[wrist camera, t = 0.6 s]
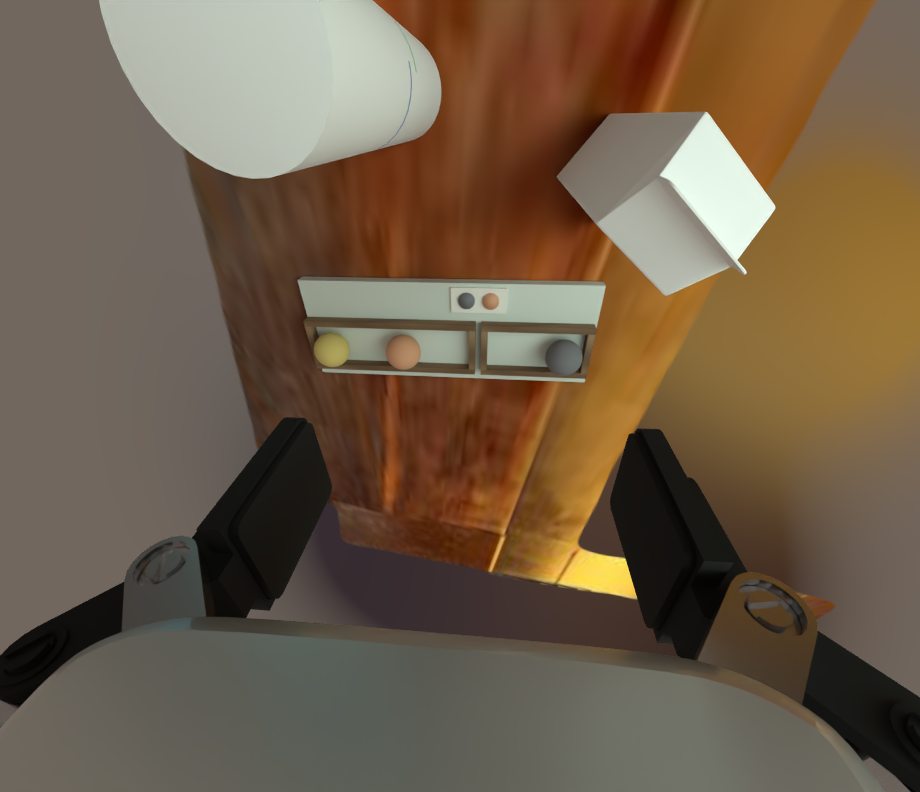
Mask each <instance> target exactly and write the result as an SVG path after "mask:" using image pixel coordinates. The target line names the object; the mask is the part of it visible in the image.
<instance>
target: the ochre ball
mask: <svg viewBox="0 0 920 792" xmlns="http://www.w3.org/2000/svg"><path fill="white" fill-rule="evenodd" d="M314 354H315V357H316V358H317V360H318V361H319V362H320V363H321V364H323V365H325V366H328V367H337V366H340V365H342V364H343V363H344V362H345V361H346V360H347V359H348V357H349V354H350V347H349V344H348V342H347V340H346V339H345V338H344V337H343V336H341V335H339V334H337V333H325V334H323V335H321V336H320V337H319V338H318V339H317V340H316V342H315V344H314Z"/></svg>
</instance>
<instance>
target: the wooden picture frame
mask: <svg viewBox="0 0 920 792" xmlns="http://www.w3.org/2000/svg"><path fill="white" fill-rule="evenodd" d="M303 322H304V326H305V329H306V333H307V336H308V340H309V343H310V347H311V350H312V354H313V357H314V360H315V364H316V367H317V368H319V369H345V370H371V371H397V372H423V373H449V374H475V356H476V321H457V320H419V319H381V318H343V317H307V318H306V319H305V320H304V321H303ZM316 327H335V328H370V329H405V330H439V331H469V364H454V363H427V362H418V363H417V364H416V365H415V366H414V367H412V368H410V369H406V370H401V369H397V368H395V367H393V366H392V365H391V364H390V363H389V361H372V360H346V361H345V362H344V363H343V364H342V365H340V366H337V367H328V366H325V365H323V364H321V363H320V362H319V361H318V360H317V358H316V357H315V354H314V344H315V342H316V340H317V339H318V338H319V336H318V332H317V329H316Z"/></svg>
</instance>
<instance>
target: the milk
mask: <svg viewBox="0 0 920 792" xmlns="http://www.w3.org/2000/svg"><path fill="white" fill-rule="evenodd" d="M557 178H558V180H559V181H560V182H561V183H562V184H563V186H564V187H565V188H566V189H567V190H568V191H569V193H570V194H571V195H572V196H573V197H574V199H575V200H576V201H577V202H578V203H579V204H580V206H581V207H582V208H583V209H584V210H585V212H586V213H587V214H588V215H589V216H590V218H591V219H592V220H593V221H594V222H595V223H596V225H597V226H598V227H599V228H600V229H601V230H602V231H603V232H604V233H605V234H606V235H607V236H608V237H609V238H610V239H611V240H612V241H613V242H614V244H615V245H616V246H617V247H618V248H619V249H620V250H621V251H622V252H623V253H624V254H625V255H626V256H627V257H628V258H629V259H630V260H631V261H632V262H633V263H634V264H635V265H636V267H637V268H638V269H639V270H640V271H641V272H642V273H643V274H644V275H645V276H646V277H647V278H648V279H649V280H650V281H651V282H652V283H653V284H654V285H655V286H656V287H657V288H658V290H659V291H660V292H661V293H662V294H663V295H665V296H667V295H669V294H672V293H674V292H676V291H678V290H681V289H683V288H685V287H687V286H689V285H692V284H694V283H696V282H698V281H701V280H703V279H705V278H707V277H709V276H712V275H714V274H716V273H718V272H720V271H723V270H725V269H727V268H729V267H733V268H734V269H736V270H737V271H739V272H741V273H742V274H744V275H745V274H746V273H747V272H746V270H745V269H744V268H743V267H742V266H741V264H740V263H739V262H738V261H737V260H738V258H739V257H740V256H741V254H742V253H743V251H744V250H745V249H746V247H747V246H748V245H749V243H750V242H751V241H752V239H753V238H754V237H755V235H756V234H757V233H758V231H759V230H760V229H761V227H762V226H763V225H764V223H765V222H766V221H767V219H768V218H769V217H770V215H771V214H772V212H773V211H774V209H775V205H774V204H773V202H772V201H771V200H770V198H769V197H768V195H767V194H766V193H765V191H764V190H763V188H762V187H761V186H760V184H759V183H758V182H757V180H756V179H755V177H754V176H753V175H752V173H751V172H750V170H749V169H748V168H747V166H746V165H745V164H744V162H743V161H742V159H741V158H740V157H739V155H738V154H737V153H736V151H735V150H734V148H733V147H732V146H731V144H730V143H729V141H728V140H727V139H726V137H725V136H724V135H723V133H722V132H721V130H720V129H719V128H718V126H717V125H716V123H715V122H714V121H713V119H712V118H711V117H710V115H709V114H708V113H707V112H671V113H625V114H609V115H608V116H607V118H606V119H605V120H604V121H603V122H602V123H601V125H600V126H599V127H598V128H597V129H596V131H595V132H594V133H593V134H592V135H591V136H590V138H589V139H588V140H587V141H586V142H585V143H584V145H583V146H582V147H581V148H580V149H579V151H578V152H577V153H576V154H575V155H574V156H573V158H572V159H571V160H570V161H569V162H568V163H567V165H566V166H565V167H564V168H563V169H562V171H561V172H560V173H559V174H558V175H557Z"/></svg>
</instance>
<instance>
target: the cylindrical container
mask: <svg viewBox="0 0 920 792" xmlns="http://www.w3.org/2000/svg"><path fill="white" fill-rule="evenodd" d="M99 1H100V7H101V13H102V16H103V19H104V23H105V26H106V29H107V32H108V35H109V38H110V42H111V44H112V46H113V48H114V51H115V53H116V55H117V58H118V60H119V62H120V65H121V67H122V69H123V71H124V72H125V74H126V76H127V78H128V79H129V81H130V83H131V85H132V86H133V88H134V90H135V92H136V93H137V95H138V97H139V98H140V99H141V101H142V102H143V103H144V105H145V106H146V107H147V109H148V110H149V112H150V113H151V114H152V116H153V117H154V118H155V119H156V121H157V122H158V123H159V124H160V125H161V126H162V127H163V128H164V129H165V130H166V131H167V132H168V133H169V134H170V136H171V137H172V138H173V139H174V140H175V141H177V142H178V143H179V144H180V145H181V146H183V147H184V148H185V149H186V150H188V151H189V152H190V153H191V154H193V155H194V156H195V157H197V158H198V159H200V160H202V161H204V162H205V163H207V164H209V165H210V166H212V167H214V168H216V169H218V170H221V171H224V172H226V173H229V174H232V175H234V176H240V177H245V178H251V179H257V178H271V177H275V176H278V175H282V174H286V173H290V172H294V171H298V170H302V169H305V168H309V167H313V166H317V165H321V164H325V163H328V162H332V161H336V160H340V159H344V158H347V157H351V156H355V155H359V154H362V153H366V152H370V151H374V150H378V149H381V148H385V147H389V146H393V145H397V144H401V143H404V142H408V141H411V140H415V139H417V138H419V137H420V136H422V135H423V134H425V133H426V132H427V131H428V130H429V129H430V127H431V126H432V124H433V123H434V121H435V119H436V116H437V114H438V111H439V107H440V103H441V81H440V77H439V72H438V69H437V67H436V64H435V61H434V60H433V58H432V56H431V54H430V53H429V51H428V50H427V49H426V48H425V47H424V46H423V44H422V43H421V42H420V41H418V40H417V39H416V38H415V37H414V36H413V35H412V34H410V33H409V32H408V31H407V30H406V29H405V28H404V27H402V26H401V25H400V24H399V23H398V22H397V21H396V20H394V19H393V18H392V17H391V16H390V15H389V14H388V13H386V12H385V11H384V10H383V9H382V8H381V7H380V6H378V5H377V4H376V3H375V2H374V1H373V0H99Z"/></svg>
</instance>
